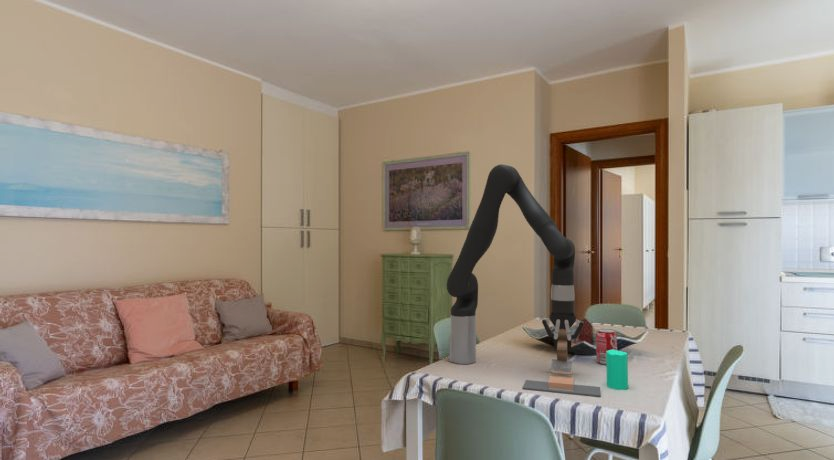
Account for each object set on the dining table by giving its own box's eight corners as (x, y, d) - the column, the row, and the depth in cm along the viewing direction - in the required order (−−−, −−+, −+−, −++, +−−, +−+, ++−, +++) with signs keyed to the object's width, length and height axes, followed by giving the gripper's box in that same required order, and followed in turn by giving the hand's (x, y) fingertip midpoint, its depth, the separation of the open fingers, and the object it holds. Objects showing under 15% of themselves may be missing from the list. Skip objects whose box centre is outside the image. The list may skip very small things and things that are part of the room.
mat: (522, 389, 141) (522, 387, 141) (525, 381, 149) (525, 379, 149) (600, 397, 134) (600, 395, 134) (600, 388, 141) (600, 386, 142)
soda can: (616, 361, 172) (616, 329, 173) (618, 366, 166) (617, 332, 166) (596, 360, 175) (595, 327, 175) (596, 365, 168) (596, 331, 168)
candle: (603, 383, 146) (602, 345, 146) (621, 383, 147) (621, 344, 147) (612, 390, 140) (612, 349, 140) (631, 389, 141) (631, 349, 141)
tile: (550, 381, 147) (548, 388, 140) (550, 374, 147) (548, 382, 140) (574, 383, 145) (573, 391, 137) (573, 377, 145) (573, 384, 138)
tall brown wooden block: (554, 339, 163) (554, 328, 162) (572, 340, 161) (572, 329, 160) (551, 372, 146) (550, 360, 145) (571, 374, 144) (571, 361, 143)
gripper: (539, 298, 154) (539, 351, 154) (584, 300, 149) (585, 355, 149) (541, 296, 161) (541, 346, 161) (585, 297, 156) (585, 349, 156)
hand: (562, 350), depth 155 cm, fingers closed on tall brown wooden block, 2 cm apart
